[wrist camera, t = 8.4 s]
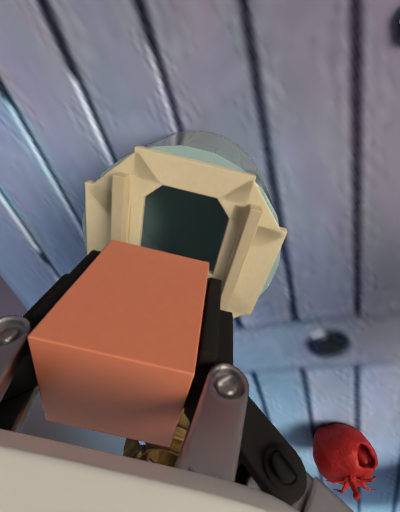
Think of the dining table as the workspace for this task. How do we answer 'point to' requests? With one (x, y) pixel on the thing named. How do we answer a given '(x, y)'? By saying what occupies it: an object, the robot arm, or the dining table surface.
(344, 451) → the pomegranate
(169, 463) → the wooden mug
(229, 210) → the lid
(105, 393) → the block
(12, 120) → the dining table surface
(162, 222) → the blue-green round container
